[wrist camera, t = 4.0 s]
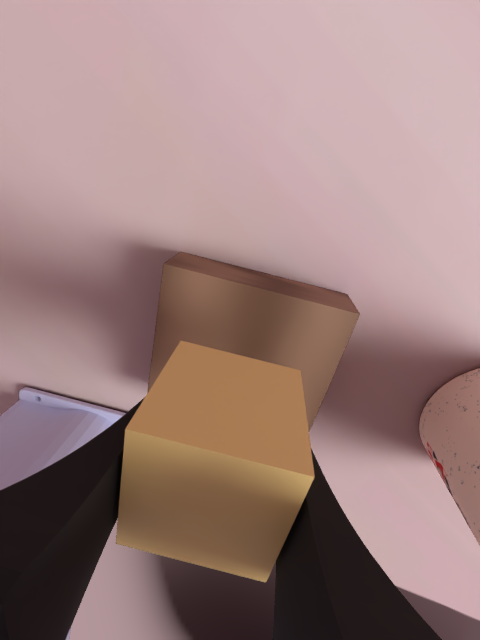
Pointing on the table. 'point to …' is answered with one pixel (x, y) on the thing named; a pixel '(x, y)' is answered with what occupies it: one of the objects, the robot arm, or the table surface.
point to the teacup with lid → (456, 441)
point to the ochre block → (216, 462)
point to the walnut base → (253, 320)
